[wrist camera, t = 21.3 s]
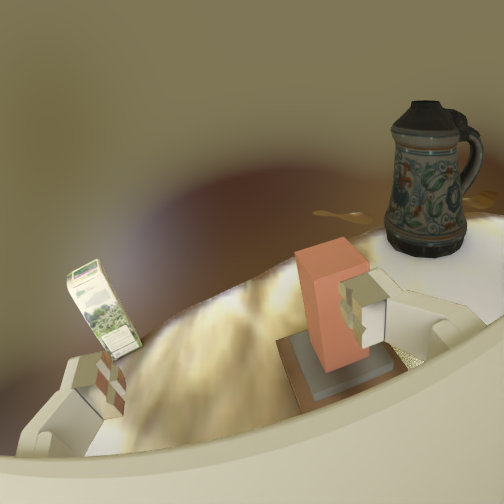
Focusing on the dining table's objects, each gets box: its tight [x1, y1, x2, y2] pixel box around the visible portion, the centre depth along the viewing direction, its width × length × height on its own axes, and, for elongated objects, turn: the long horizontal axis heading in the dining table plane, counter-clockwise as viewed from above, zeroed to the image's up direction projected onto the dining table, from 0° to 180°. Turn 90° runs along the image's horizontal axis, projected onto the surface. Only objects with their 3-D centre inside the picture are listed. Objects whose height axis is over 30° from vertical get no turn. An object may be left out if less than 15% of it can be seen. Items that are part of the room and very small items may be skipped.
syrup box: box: [67, 259, 143, 361], centre depth 44 cm, size 6×6×14 cm
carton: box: [295, 237, 370, 373], centre depth 30 cm, size 5×5×12 cm
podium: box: [276, 330, 409, 414], centre depth 34 cm, size 12×12×4 cm
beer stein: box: [384, 100, 484, 258], centre depth 49 cm, size 16×19×25 cm
